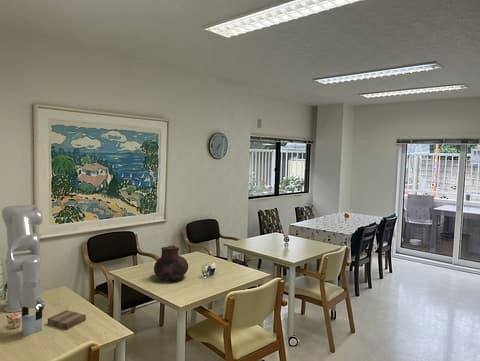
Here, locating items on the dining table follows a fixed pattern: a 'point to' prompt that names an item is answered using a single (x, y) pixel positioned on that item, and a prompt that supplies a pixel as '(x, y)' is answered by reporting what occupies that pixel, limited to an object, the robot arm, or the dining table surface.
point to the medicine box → (31, 324)
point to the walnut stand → (66, 319)
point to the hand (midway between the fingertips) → (32, 317)
